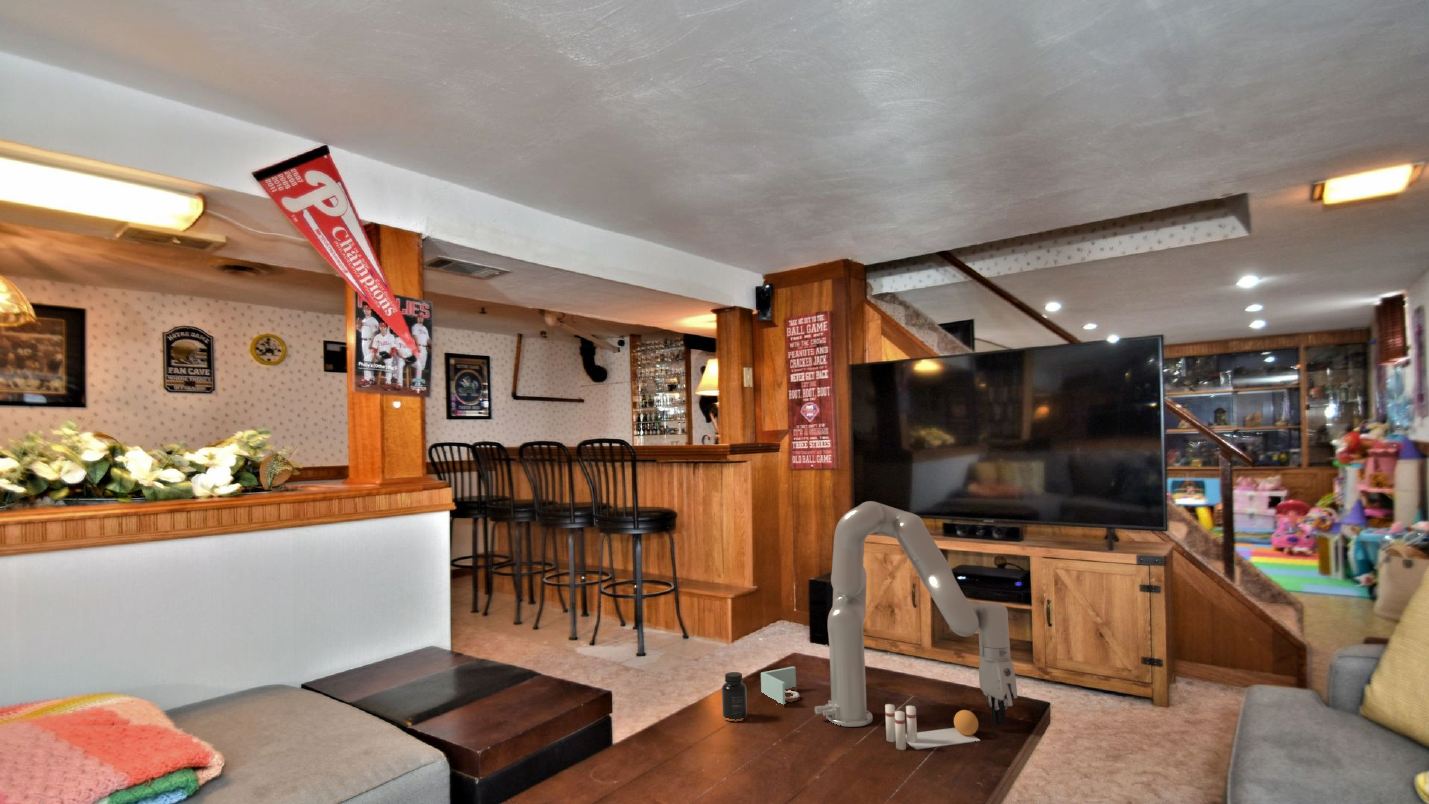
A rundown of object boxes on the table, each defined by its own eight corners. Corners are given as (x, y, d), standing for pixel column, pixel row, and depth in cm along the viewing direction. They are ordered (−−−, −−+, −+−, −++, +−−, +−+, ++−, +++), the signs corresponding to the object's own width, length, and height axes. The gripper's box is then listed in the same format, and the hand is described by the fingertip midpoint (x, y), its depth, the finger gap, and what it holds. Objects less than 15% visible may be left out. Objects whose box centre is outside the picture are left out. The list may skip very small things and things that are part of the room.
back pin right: (899, 750, 174) (897, 714, 175) (894, 746, 176) (892, 711, 177) (908, 749, 175) (906, 713, 175) (903, 745, 177) (901, 710, 178)
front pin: (910, 744, 177) (908, 709, 178) (905, 740, 180) (903, 705, 181) (919, 742, 178) (917, 708, 179) (914, 739, 180) (912, 704, 181)
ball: (963, 740, 179) (961, 715, 180) (949, 731, 185) (948, 707, 185) (983, 737, 180) (982, 713, 181) (969, 729, 186) (968, 705, 187)
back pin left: (889, 742, 179) (887, 707, 179) (884, 738, 181) (883, 704, 182) (898, 741, 179) (896, 706, 180) (893, 737, 182) (892, 703, 182)
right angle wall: (783, 709, 205) (782, 683, 206) (761, 697, 216) (760, 672, 216) (817, 702, 211) (816, 676, 211) (794, 690, 221) (793, 666, 222)
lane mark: (916, 749, 174) (916, 748, 174) (898, 735, 183) (898, 734, 183) (980, 740, 179) (980, 739, 179) (959, 727, 187) (959, 726, 187)
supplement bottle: (750, 715, 200) (749, 671, 201) (743, 723, 193) (742, 678, 194) (727, 712, 202) (726, 669, 203) (719, 721, 196) (718, 676, 197)
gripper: (1025, 658, 180) (1030, 732, 179) (989, 643, 195) (993, 712, 193) (1000, 660, 178) (1004, 736, 177) (965, 646, 193) (969, 715, 191)
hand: (998, 723), depth 185 cm, fingers closed
